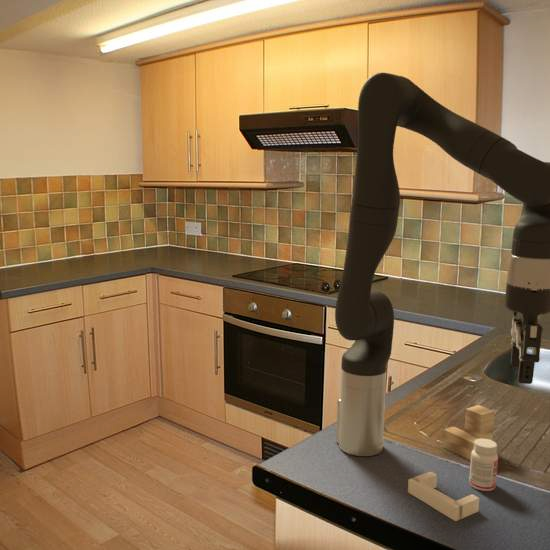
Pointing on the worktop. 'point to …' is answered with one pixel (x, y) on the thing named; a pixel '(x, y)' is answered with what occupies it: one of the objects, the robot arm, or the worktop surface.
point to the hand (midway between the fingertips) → (520, 374)
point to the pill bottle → (483, 465)
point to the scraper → (469, 431)
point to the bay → (441, 497)
